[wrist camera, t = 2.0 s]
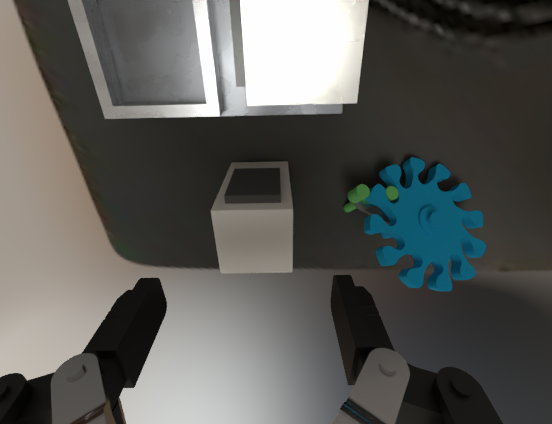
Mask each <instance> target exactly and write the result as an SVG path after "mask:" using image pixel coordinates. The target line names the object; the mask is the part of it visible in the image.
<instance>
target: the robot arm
mask: <svg viewBox="0 0 552 424" xmlns="http://www.w3.org/2000/svg"><path fill="white" fill-rule="evenodd" d="M166 308H167V302H166V298H165V295H164V292H163V288H162V285H161V282H160V279H159V278H141V279H139V280H138V282H137V283H136V285H135V287H134V288H133V290H128V291H126V292H125V293H124V294H123V295H121V296H120V297H119V298H118V299H117V300H116V302H115V303H114V305H113V306H112V308H111V311H109V313H108V314H107V316H106V317H105V320H103V322H102V323H101V325H100V326H99V328H98V329H97V331H96V333H95V334H94V336H93V337H92V339H91V340H90V342H89V343H88V345H87V346H86V348H85V349H84V351H83V352H82V353H81V354H79V355H76V356H74V357H72V358H70V359H69V360H67V361H66V362H64V363H63V364H62V365H61V366H60V367H59V368H58V369H57V370H56V372H54V373H51V374H48V375H45V376H41V377H38V378H35V379H31V380H28V381H27V380H26V379H25V377H24V376H23V375H22V374H19V373H13V374H8V375H5V376H2V377H0V424H126V421H125V417H124V413H123V409H122V405H121V401H120V398H119V396H120V394H121V392H122V390H123V388H134V387H135V385H136V382H137V380H138V377H139V375H140V373H141V370H142V368H143V366H144V363H145V361H146V359H147V356H148V354H149V351H150V349H151V347H152V345H153V342H154V340H155V338H156V335H157V333H158V331H159V328H160V326H161V324H162V321H163V319H164V317H165V313H166ZM331 312H332V316H333V321H334V325H335V329H336V334H337V337H338V343H339V347H340V351H341V356H342V360H343V365H344V369H345V373H346V378H347V382H348V385H354V387H353V389H352V391H351V393H350V396H349V397H348V399H347V401H346V402H344V403H343V405H342V406H341V408H340V410H339V412H338V415H337V416H336V418H335V421H334V423H333V424H503V423H502V421H501V420H500V418H499V416H498V415H497V413H496V411H495V409H494V407H493V406H492V404H491V402H490V400H489V399H488V397H487V395H486V394H485V392H484V390H483V388H482V387H481V385H480V384H479V383H478V382H477V381H476V380H475V379H474V378H473V377H472V376H471V375H469V374H468V373H466V372H464V371H462V370H460V369H458V368H453V367H445V368H442V369H441V370H440V371H439V372H438V373H434V372H430V371H427V370H423V369H420V368H417V367H414V366H412V365H410V364H408V363H406V362H405V360H404V359H403V358H402V357H401V356H400V355H399V354H398V353H396V352H395V350H394V348H393V346H392V344H391V342H390V339H389V337H388V334H387V332H386V329H385V327H384V325H383V322H382V320H381V317H380V316H379V313H378V310H377V308H376V306H375V303H374V300H373V298H372V295H371V294H370V293H369V292H368V291H367V290H366V289H365V288H364V287H363V286H358V287H355V285H354V282H353V280H352V277H351V275H334V276H333V284H332V292H331Z"/></svg>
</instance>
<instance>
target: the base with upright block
mask: <svg viewBox="0 0 552 424" xmlns="http://www.w3.org/2000/svg"><path fill="white" fill-rule="evenodd" d="M68 3H69V6H70V9H71V12H72V15H73V19H74V22H75V25H76V28H77V31H78V34H79V38H80V41H81V44H82V47H83V50H84V53H85V57H86V60H87V63H88V66H89V69H90V72H91V76H92V79H93V82H94V85H95V88H96V91H97V95H98V98H99V101H100V104H101V107H102V110H103V114H104V117H105V119H120V118H166V117H211V116H254V115H299V114H342V107H343V104H346V103H357V97H358V89H359V80H360V71H361V63H362V54H363V46H364V37H365V28H366V20H367V11H368V3H369V0H68Z"/></svg>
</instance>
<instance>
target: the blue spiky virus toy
mask: <svg viewBox="0 0 552 424" xmlns="http://www.w3.org/2000/svg"><path fill="white" fill-rule="evenodd" d="M424 168H425V163H424V161H422V160H421V159H418V158H413V157H411V158H410V159H408V160H406V161H405V162H404V163H403V169H404V171H405V175H406V183H405V187H404V188H403V187H402V186H401V184H400V181H399V180H400V176H401V169H400V167H399V166H398V165H391V166H388V167H386V168H384V169H383V170H381V171H380V172H379V175H380V178H381V179H382V180H383V181H384V182H385V183H386V185H387V186H388V187H387V188H384V187H383V186H382V185H381V184H377V185H375V186H373V187H372V188H370V189H369V188H368V187H367V186H366V185H364V184H360V185H358V186H357V187H355V188H354V189H352V190H351V191H349V192H348V199H349V201H350V202H349V203H347V204H345V205H344V207H343V208H344V211H345V212H350V211H352V210H354V209H356V208H357V209H359V210H360V211H362V212H364V213H366V214H368V215H370V216H367V217H366V218H365V221H364V232H365V233H367V234H369V235H372V234H375V233H381V235H382V237H383V238H386V239H387V238H391V237H393V238H394V239H395V240H396V241H397V249H395V248H393V247H391V246H384V247H379V248H377V249H376V250H375V252H376V256H377V259H378V261H379V263H380V265H381V266H389V265H394V264H395V263H396V262H397V261H398V259H399V258H400V257H402V256H403V255H405V254H409V255H411V256H412V257H413V259H414V265H413V267H412V268H410V269H403V270H402V271H400V273H399V278H400V280H401V281H402V282H403V283H404V284H405V285H407V286H408V287H410V288H419V287H421V286H422V284H423V277H424V273H425V270H426V268H427V266H428V265H429V264H430V263H431V262H432V263H433V265H434V272H433V274H432V275H431V276H430V277H429V278H428V281H427V285H428V288H430V289H432V290H436V291H451V290H452V282H451V280H450V277H449V272H448V264H449V259H450V258H451V260H452V267H451V275H452V277H453V279H454V280H468V279H471V278H473V277H474V276H475V275H476V274H475V270H474V268H473V267H472V266H471V265H470V264H469V262H468V261H467V260H466V258H465V256H464V254H463V251H462V248H461V243H462V246H463V250H464V253H465V254H466V255H467V256H468V257H470V258H475V257H481V256H482V255H483V254H484V252H485V249H486V244H485V243H484V242H483V241H482V240H479V239H476V238H474V237H473V236H471V235H470V234H469V233H468V232H467V230H466V229H465V228H464V226H463V225H462V222H463V224H464V225H465V226H466V227H467V228H469V229H473V228H478V227H482V226H483V213H482V212H480V211H478V210H475V211H471V212H469V211H464V210H462V209H460V208H458V207H457V206H456V205H455V204H454V202H453V200H454V201H457V202H459V201H463V200H466V199H469V198H471V192H470V190H469V188H468V186H467V185H466V183H461V184H458V185H456V186H453V187H451V188H450V190H449V191H447V192H444V191H441V190H440V189H439V188H438V186H437V182H440V181H442V180H445V179H447V178H449V176H450V172H449V170H448V169H447V168H446V167H445V166H443V165H442V164H441V163H440V164H437V165H436V166H434V167H432V168H430V169H429V171H428V178H427V180H426V182H425V183H424V184H422V183H421V182H420V181H419V180H418V174H419V173H420V172H421V171H422V170H423V169H424ZM390 201H392V203H391V202H390Z"/></svg>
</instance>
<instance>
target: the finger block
mask: <svg viewBox="0 0 552 424" xmlns="http://www.w3.org/2000/svg"><path fill="white" fill-rule="evenodd" d="M211 216H212V222H213V228H214V235H215V241H216V247H217V254H218V260H219V266H220V273H278V272H279V273H281V272H292V261H293V204H292V195H291V186H290V178H289V169H288V161H283V162H233V163H231V165H230V167H229V170H228V172H227V174H226V177H225V179H224V181H223V184H222V186H221V188H220V191H219V193H218V195H217V197H216V200H215V202H214V204H213V207H212V209H211Z"/></svg>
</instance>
